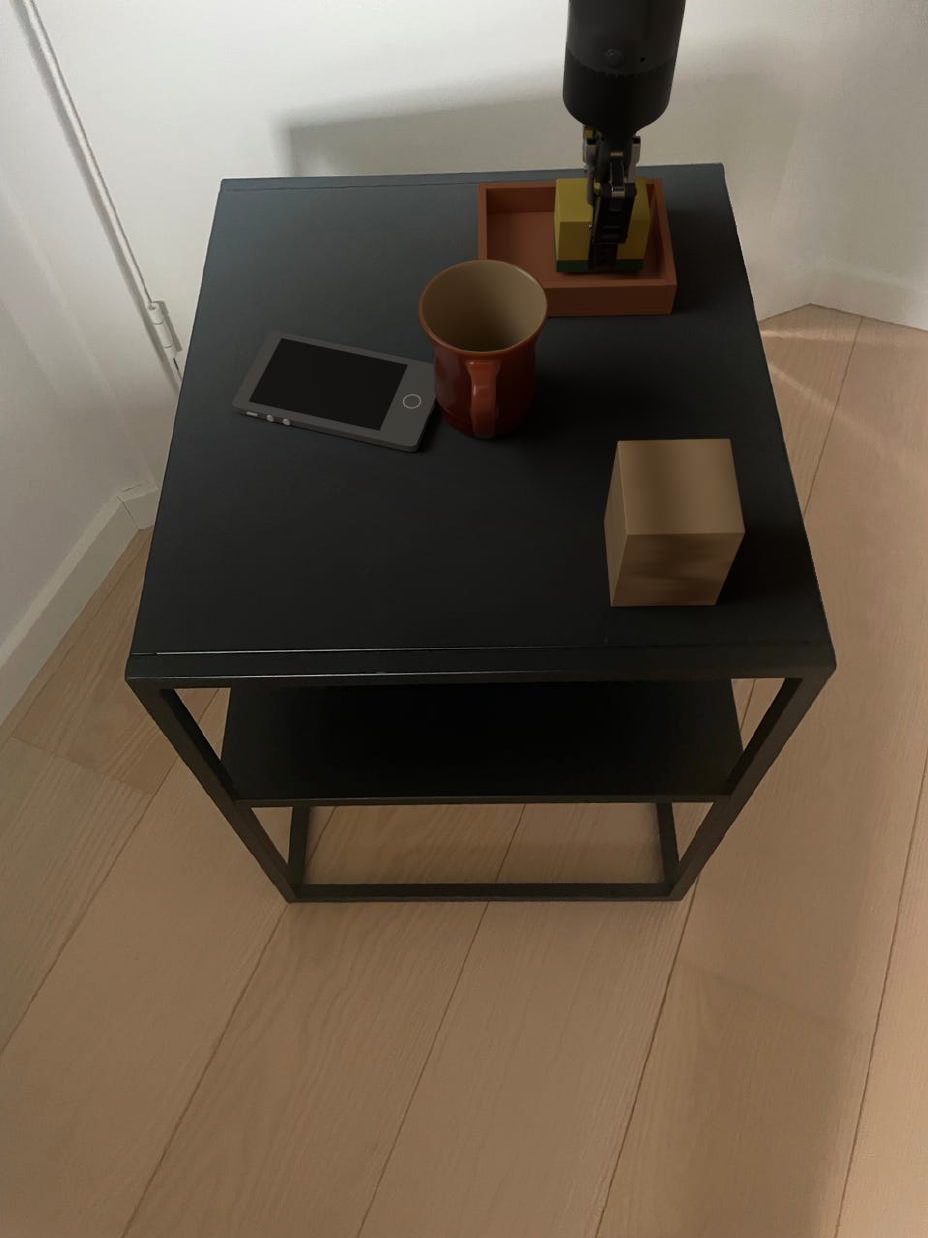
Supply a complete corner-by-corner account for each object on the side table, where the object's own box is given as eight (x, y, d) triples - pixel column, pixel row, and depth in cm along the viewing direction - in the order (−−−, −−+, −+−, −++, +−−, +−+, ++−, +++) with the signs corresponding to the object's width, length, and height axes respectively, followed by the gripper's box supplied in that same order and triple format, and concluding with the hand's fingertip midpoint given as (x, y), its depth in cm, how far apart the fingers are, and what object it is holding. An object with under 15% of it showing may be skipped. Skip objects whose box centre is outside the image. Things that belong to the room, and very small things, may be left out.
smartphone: (230, 412, 73) (228, 406, 73) (271, 335, 77) (269, 329, 76) (415, 454, 71) (414, 448, 70) (448, 372, 74) (448, 366, 74)
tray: (656, 208, 83) (661, 177, 80) (670, 314, 77) (677, 284, 74) (478, 213, 83) (477, 182, 80) (479, 318, 77) (478, 289, 75)
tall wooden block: (703, 518, 68) (730, 438, 60) (715, 605, 64) (745, 532, 56) (603, 520, 68) (617, 440, 60) (610, 607, 65) (626, 534, 57)
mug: (429, 363, 75) (420, 259, 66) (541, 362, 75) (546, 257, 66) (424, 488, 70) (413, 393, 61) (545, 487, 69) (552, 392, 60)
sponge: (636, 227, 80) (645, 175, 76) (641, 270, 78) (650, 219, 73) (553, 229, 80) (556, 177, 76) (555, 272, 78) (559, 221, 74)
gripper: (691, 101, 60) (652, 306, 75) (669, -29, 67) (637, 182, 82) (571, 104, 60) (556, 308, 75) (561, -26, 67) (549, 185, 82)
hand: (598, 241), depth 78 cm, fingers closed on sponge, 5 cm apart
